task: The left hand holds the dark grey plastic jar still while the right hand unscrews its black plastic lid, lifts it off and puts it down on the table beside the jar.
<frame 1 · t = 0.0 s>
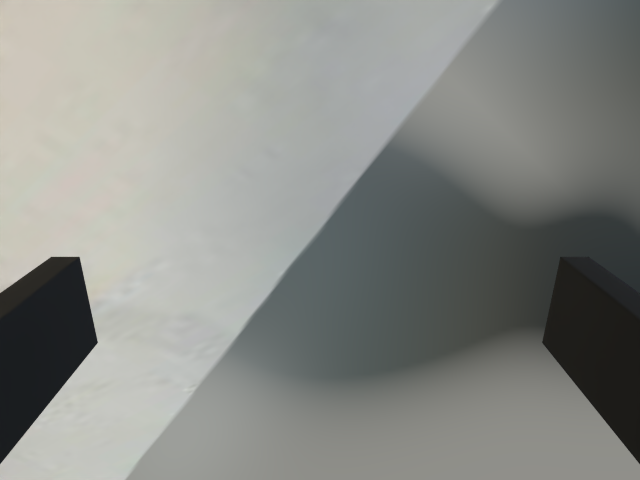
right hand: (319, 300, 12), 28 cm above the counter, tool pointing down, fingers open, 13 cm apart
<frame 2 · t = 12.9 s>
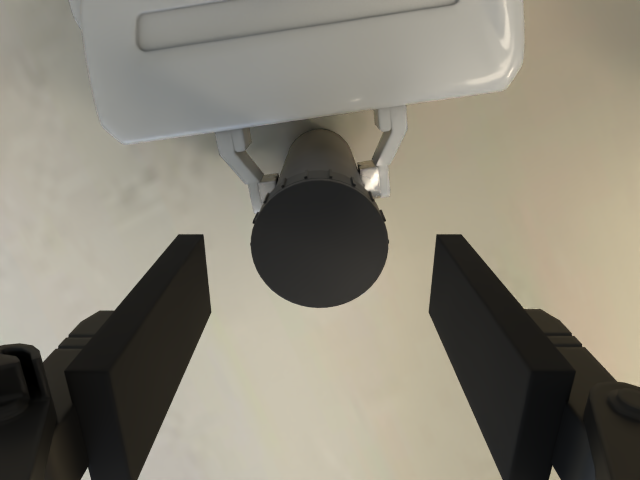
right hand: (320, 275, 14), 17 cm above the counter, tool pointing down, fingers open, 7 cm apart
left hand: (322, 202, 24), fingers closed on jar, 4 cm apart
jar: (320, 162, 30), on the counter, touching left hand
lid: (319, 244, 16), point 15 cm above the counter, screwed on, not yet turned
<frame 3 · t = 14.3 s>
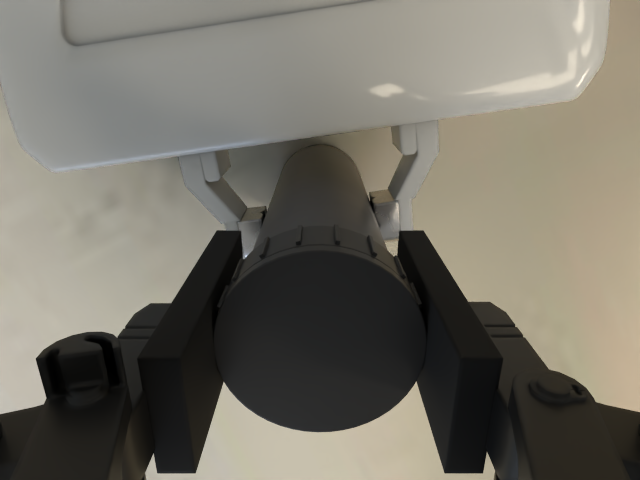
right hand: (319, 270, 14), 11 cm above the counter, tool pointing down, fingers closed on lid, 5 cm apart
jar: (320, 185, 25), on the counter, touching left hand
lid: (319, 341, 11), point 15 cm above the counter, screwed on, not yet turned, touching right hand
when the right hand's fingers open (11 cm above the counter, at t = 15.8 s): lid stays where it is, point 15 cm above the counter.
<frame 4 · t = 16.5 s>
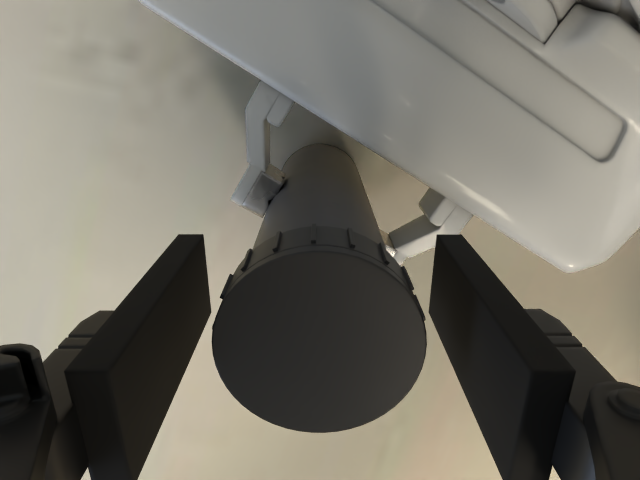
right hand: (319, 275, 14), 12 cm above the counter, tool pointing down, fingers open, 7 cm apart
left hand: (309, 240, 19), fingers closed on jar, 4 cm apart
jar: (319, 184, 25), on the counter, touching left hand
lid: (319, 341, 11), point 15 cm above the counter, turned 111° so far, risen 0.3 cm, still on its thread
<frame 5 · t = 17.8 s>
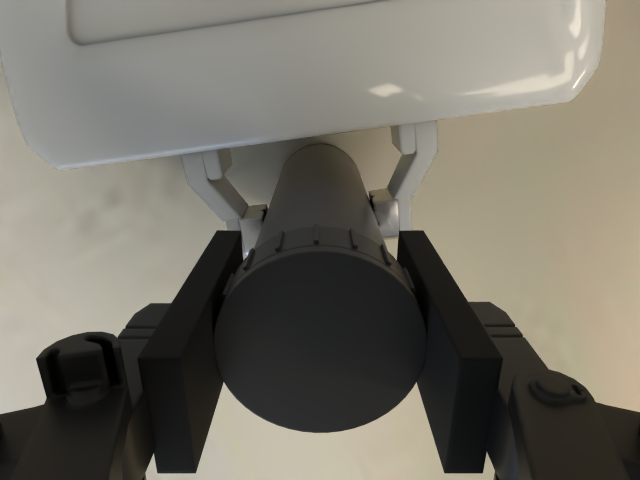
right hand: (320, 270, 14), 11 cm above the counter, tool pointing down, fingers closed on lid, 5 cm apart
jar: (320, 184, 25), on the counter, touching left hand
lid: (320, 341, 11), point 15 cm above the counter, turned 111° so far, risen 0.3 cm, still on its thread, touching right hand
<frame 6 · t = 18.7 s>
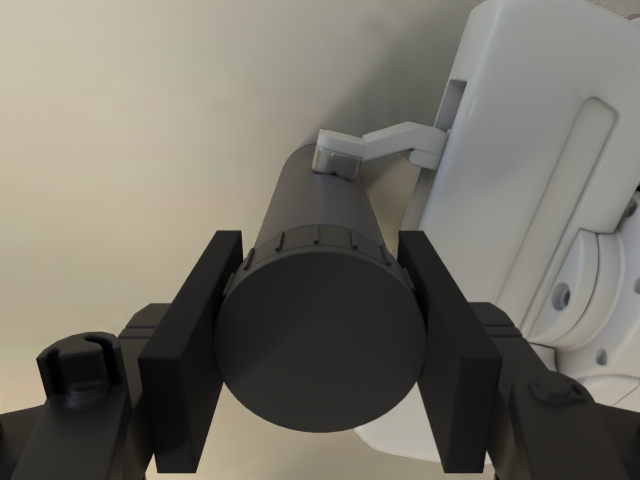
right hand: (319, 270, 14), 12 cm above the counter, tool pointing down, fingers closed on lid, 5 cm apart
left hand: (299, 217, 19), fingers closed on jar, 4 cm apart
jar: (320, 183, 25), on the counter, touching left hand
lid: (320, 341, 11), point 15 cm above the counter, off its thread, touching right hand
when the right hand's fingers open (0 cm above the counter, at t = 24.5 s): lid stays where it is, point 1 cm above the counter.
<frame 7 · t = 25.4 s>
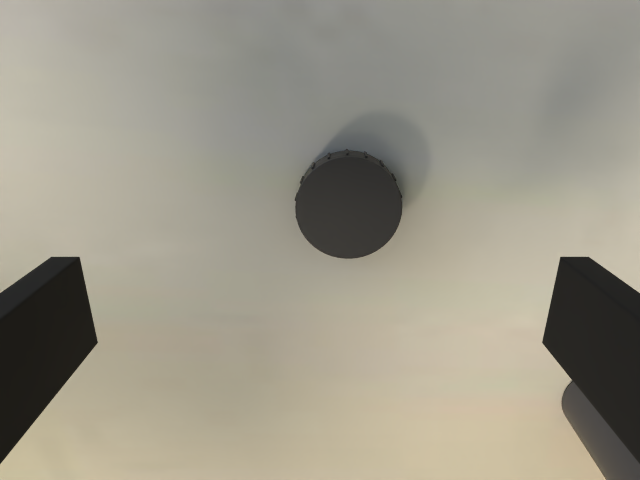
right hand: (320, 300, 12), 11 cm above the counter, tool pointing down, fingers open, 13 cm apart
jar: (600, 398, 26), on the counter, touching left hand
lid: (348, 207, 21), point 1 cm above the counter, off its thread
when the left hand's fingers open (7 cm above the counter, at t = 25.6 s): jar stays where it is, on the counter.
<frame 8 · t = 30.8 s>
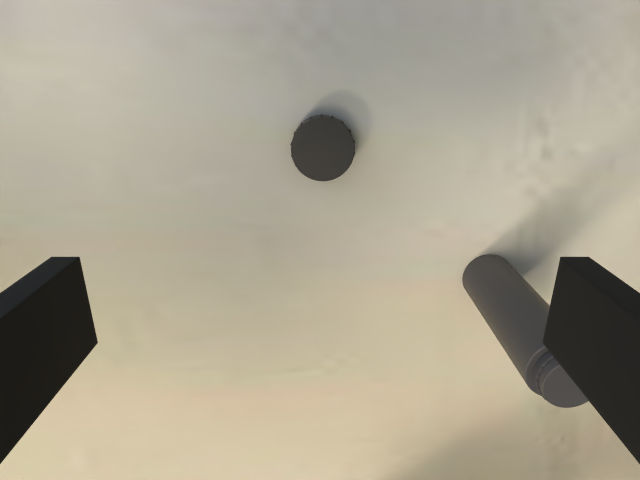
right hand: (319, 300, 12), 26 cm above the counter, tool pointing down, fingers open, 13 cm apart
jar: (486, 276, 41), on the counter
lid: (322, 149, 35), point 1 cm above the counter, off its thread
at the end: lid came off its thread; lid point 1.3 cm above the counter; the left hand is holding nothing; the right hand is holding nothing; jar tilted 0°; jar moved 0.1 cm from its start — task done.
